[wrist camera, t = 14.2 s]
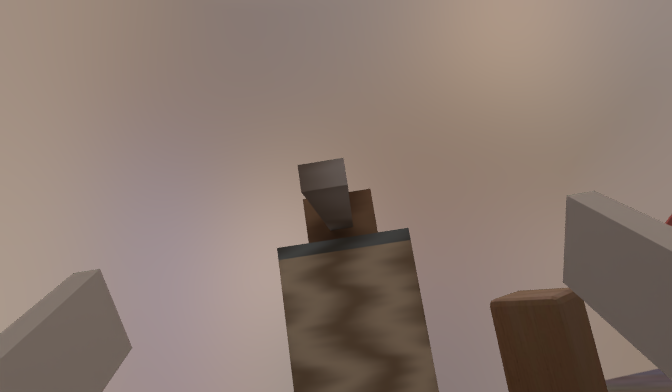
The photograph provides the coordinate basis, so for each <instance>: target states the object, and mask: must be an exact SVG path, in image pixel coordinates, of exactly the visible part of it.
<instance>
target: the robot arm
mask: <svg viewBox="0 0 672 392" xmlns="http://www.w3.org/2000/svg"><path fill="white" fill-rule="evenodd" d="M563 283H565V284H566V285H567V286H568V287H569V288H570V289H571V290H572V291H573V292H575V293H576V294H577V295H578V296H579V297H580V298H581V299H582V300H583V301H585V302H586V303H587V304H588V305H589V306H590V307H591V308H592V309H593V310H595V311H596V312H597V313H598V314H599V315H600V316H601V317H602V318H603V319H605V320H606V321H607V322H608V323H609V324H610V325H611V326H612V327H613V328H615V329H616V330H617V331H618V332H619V333H620V334H621V335H622V336H623V337H624V338H626V339H627V340H628V341H629V342H630V343H631V344H632V345H633V346H634V347H636V348H637V349H638V350H639V351H640V352H641V353H642V354H643V355H645V356H646V357H647V358H648V359H649V360H650V361H651V362H652V363H653V364H655V365H656V366H657V367H658V368H659V369H660V370H661V371H662V372H663V373H664V374H666V375H667V376H668V377H669V378H670V379H671V380H672V226H670V225H668V224H665V223H663V222H661V221H659V220H657V219H655V218H652V217H650V216H648V215H646V214H643V213H641V212H639V211H637V210H635V209H633V208H631V207H628V206H626V205H624V204H622V203H620V202H617V201H615V200H613V199H611V198H609V197H607V196H604V195H602V194H600V193H598V192H596V191H592V192H585V193H579V194H573V195H567V200H566V224H565V249H564V272H563ZM131 349H132V346H131V344H130V341H129V339H128V337H127V334H126V332H125V329H124V327H123V324H122V322H121V319H120V317H119V315H118V312H117V310H116V307H115V305H114V302H113V300H112V298H111V295H110V293H109V290H108V288H107V285H106V283H105V280H104V278H103V275H102V273H101V270H100V269H97V270H91V271H84V272H78V273H73V274H72V275H71V276H70V277H68V278H67V279H66V280H65V281H63V282H62V283H61V284H60V285H59V286H57V287H56V288H55V289H54V290H53V291H51V292H50V293H49V294H48V295H46V296H45V297H44V298H43V299H42V300H40V301H39V302H38V303H37V304H36V305H34V306H33V307H32V308H31V309H30V310H28V311H27V312H26V313H25V314H23V315H22V316H21V317H20V318H19V319H17V320H16V321H15V322H14V323H13V324H11V325H10V326H9V327H8V328H6V329H5V330H4V331H3V332H2V333H0V392H102V391H103V390H104V388H105V387H106V386H107V384H108V383H109V381H110V380H111V378H112V377H113V375H114V374H115V372H116V371H117V369H118V368H119V366H120V365H121V363H122V362H123V361H124V359H125V358H126V356H127V355H128V353H129V352H130V350H131Z"/></svg>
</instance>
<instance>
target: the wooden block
mask: <svg viewBox="0 0 672 392" xmlns="http://www.w3.org/2000/svg"><path fill="white" fill-rule="evenodd" d="M490 308H491V313H492V317H493V322H494V326H495V331H496V335H497V339H498V345H499V349H500V353H501V358H502V362H503V367H504V372H505V376H506V381H507V385H508V390H509V392H608V390H607V386H606V383H605V379H604V375H603V372H602V368H601V364H600V360H599V357H598V353H597V349H596V345H595V342H594V338H593V334H592V330H591V326H590V323H589V319H588V315H587V312H586V308H585V304H584V301H583V300H582V299H581V298H580V297H579V296H578V295H577V294H576V293H575V292H573V291H572V290H571V289H570V288H557V289H541V290H526V291H517V292H514V293H511V294H508V295H505V296H502V297H499V298H496V299H494V300H493V301H491V303H490Z"/></svg>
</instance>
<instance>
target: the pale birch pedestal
mask: <svg viewBox="0 0 672 392" xmlns="http://www.w3.org/2000/svg"><path fill="white" fill-rule="evenodd" d="M277 251H278V259H279V268H280V275H281V284H282V292H283V302H284V310H285V319H286V327H287V336H288V344H289V353H290V361H291V369H292V378H293V386H294V392H439V390H438V385H437V380H436V374H435V368H434V363H433V358H432V353H431V347H430V342H429V336H428V331H427V326H426V320H425V315H424V309H423V304H422V299H421V293H420V288H419V283H418V277H417V272H416V267H415V262H414V256H413V251H412V245H411V240H410V235H409V229H408V228H404V229H398V230H391V231H385V232H378V233H372V234H365V235H359V236H352V237H346V238H340V239H333V240H327V241H320V242H314V243H308V244H301V245H294V246H288V247H282V248H277Z"/></svg>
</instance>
